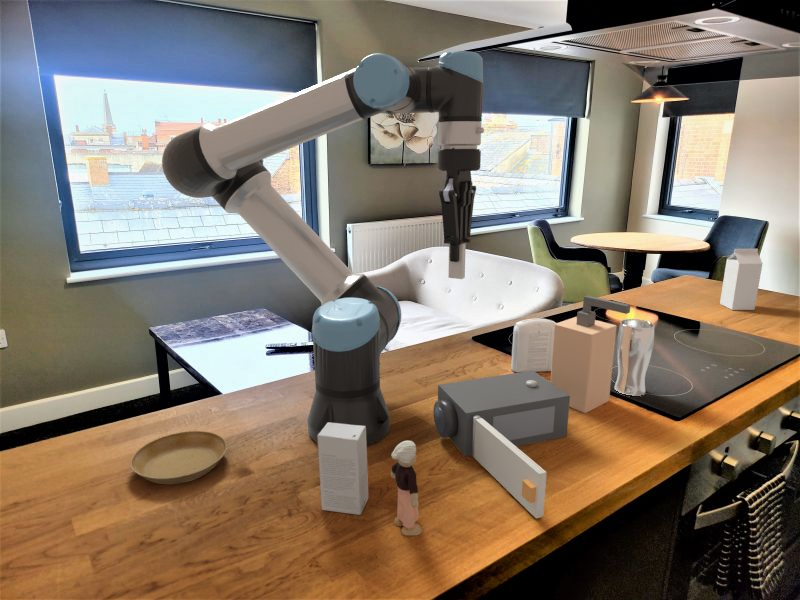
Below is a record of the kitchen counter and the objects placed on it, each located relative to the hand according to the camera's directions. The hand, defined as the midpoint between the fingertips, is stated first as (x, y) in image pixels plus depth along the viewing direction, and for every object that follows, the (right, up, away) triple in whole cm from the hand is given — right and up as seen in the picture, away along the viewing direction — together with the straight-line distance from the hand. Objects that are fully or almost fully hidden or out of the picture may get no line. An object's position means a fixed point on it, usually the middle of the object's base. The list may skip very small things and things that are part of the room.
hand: (456, 277), depth 104 cm
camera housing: (+7, -28, -3) cm, 29 cm away
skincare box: (-19, -34, -23) cm, 45 cm away
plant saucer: (-47, -32, -13) cm, 58 cm away
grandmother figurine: (-10, -35, -28) cm, 46 cm away
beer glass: (+38, -24, +13) cm, 47 cm away
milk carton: (+97, -7, +73) cm, 122 cm away
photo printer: (+20, -21, +25) cm, 38 cm away
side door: (+5, -32, -19) cm, 38 cm away
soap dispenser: (+27, -25, +8) cm, 38 cm away
